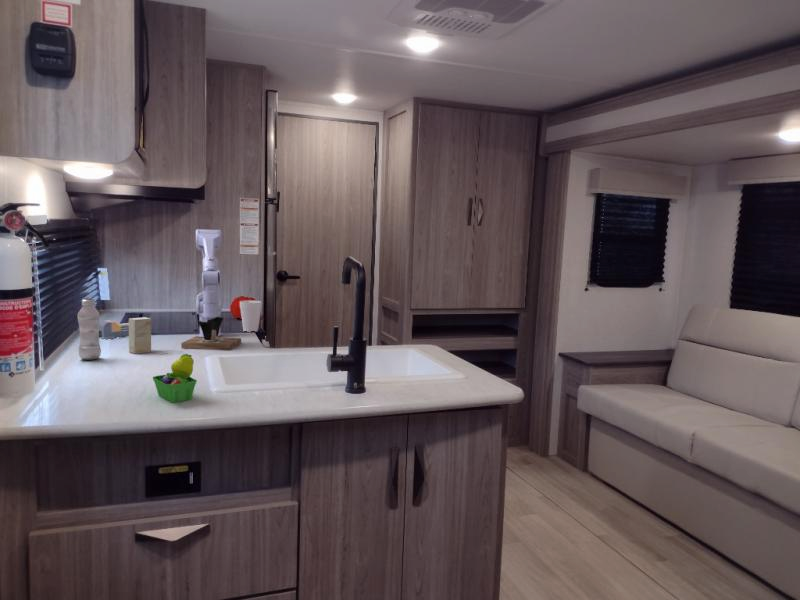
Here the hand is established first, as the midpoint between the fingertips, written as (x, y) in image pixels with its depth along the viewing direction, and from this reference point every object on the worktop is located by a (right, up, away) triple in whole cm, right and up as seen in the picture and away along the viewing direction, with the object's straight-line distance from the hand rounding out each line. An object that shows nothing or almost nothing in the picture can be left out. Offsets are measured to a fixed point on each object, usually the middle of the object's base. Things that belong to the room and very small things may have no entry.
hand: (211, 338), depth 215 cm
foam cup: (+5, +1, +36) cm, 37 cm away
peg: (0, -3, 0) cm, 3 cm away
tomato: (-6, +5, +68) cm, 69 cm away
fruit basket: (+13, -11, -66) cm, 68 cm away
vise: (-41, 0, +15) cm, 43 cm away
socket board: (0, -3, +1) cm, 3 cm away
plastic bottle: (-31, -5, -28) cm, 42 cm away
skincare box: (-21, -4, -14) cm, 25 cm away
